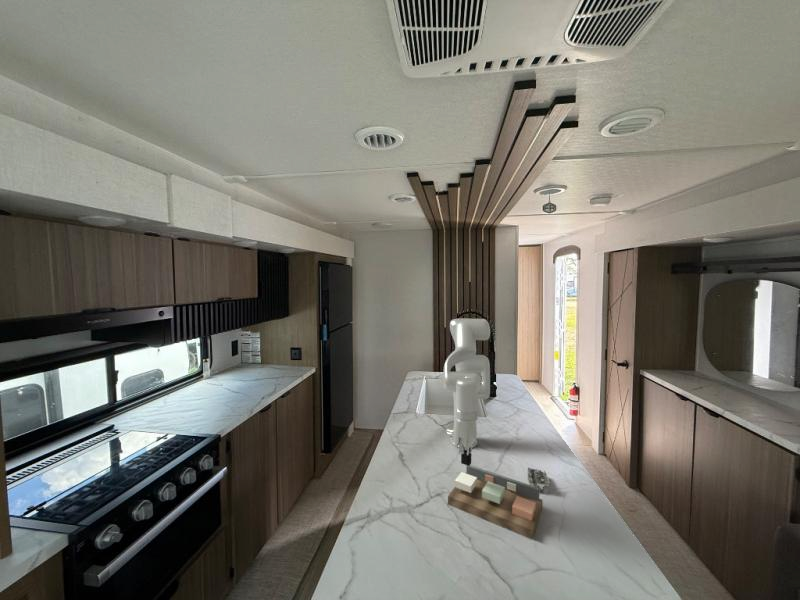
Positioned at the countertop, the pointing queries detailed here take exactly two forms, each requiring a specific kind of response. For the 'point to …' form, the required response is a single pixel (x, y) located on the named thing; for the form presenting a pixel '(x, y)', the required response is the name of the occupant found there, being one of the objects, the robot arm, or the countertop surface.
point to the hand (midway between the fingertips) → (466, 463)
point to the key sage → (493, 492)
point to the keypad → (493, 510)
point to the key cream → (465, 482)
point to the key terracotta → (524, 508)
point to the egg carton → (538, 479)
